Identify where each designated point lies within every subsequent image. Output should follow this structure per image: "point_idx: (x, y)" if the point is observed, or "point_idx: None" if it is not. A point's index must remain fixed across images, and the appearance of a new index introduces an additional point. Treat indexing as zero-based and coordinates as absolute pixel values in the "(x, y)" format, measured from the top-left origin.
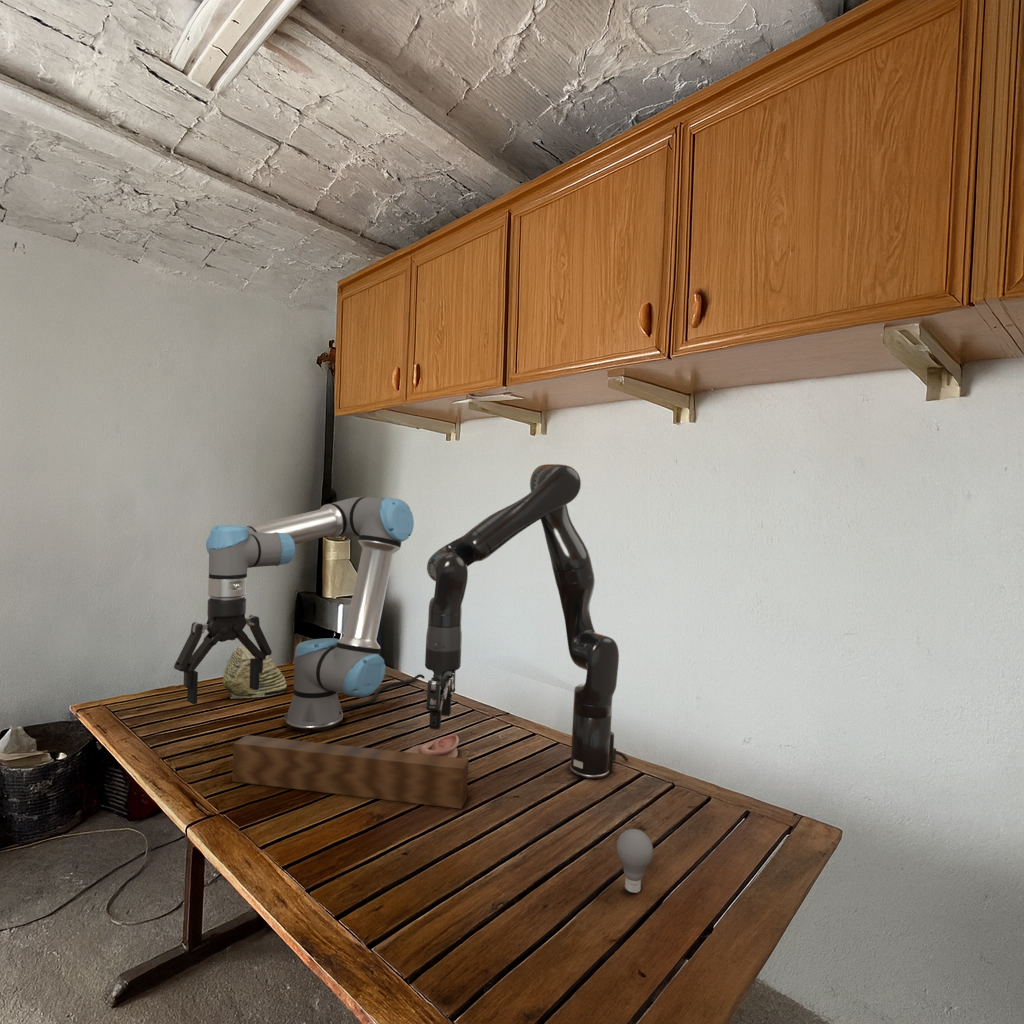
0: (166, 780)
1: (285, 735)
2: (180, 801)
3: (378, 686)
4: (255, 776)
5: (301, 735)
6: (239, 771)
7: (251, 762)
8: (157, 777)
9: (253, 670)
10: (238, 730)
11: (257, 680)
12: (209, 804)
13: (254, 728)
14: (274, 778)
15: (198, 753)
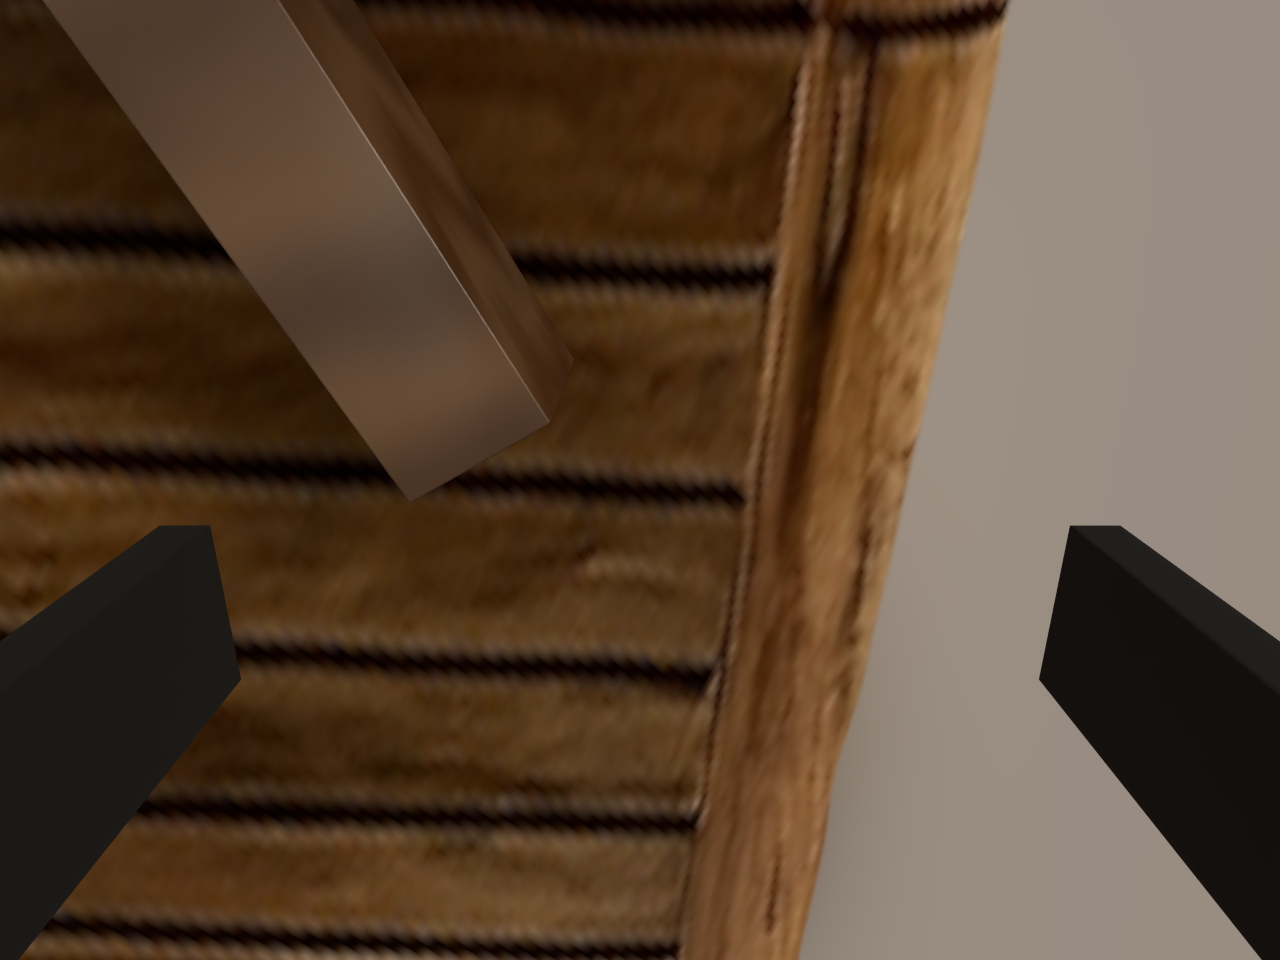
0: (799, 600)
1: None
2: (876, 329)
3: None
4: (487, 233)
5: None
6: (544, 334)
7: (489, 270)
8: (811, 657)
9: (37, 784)
10: (275, 896)
11: (99, 593)
12: (796, 179)
13: (196, 872)
14: (410, 113)
15: (546, 776)
